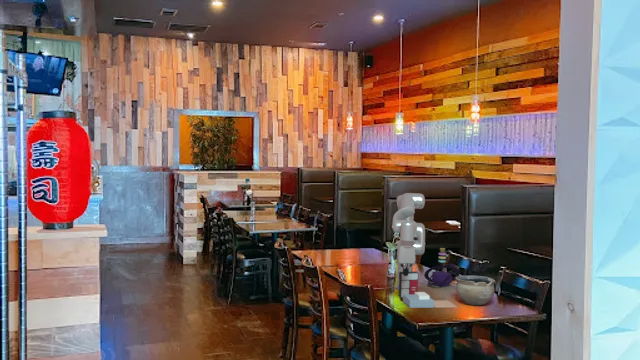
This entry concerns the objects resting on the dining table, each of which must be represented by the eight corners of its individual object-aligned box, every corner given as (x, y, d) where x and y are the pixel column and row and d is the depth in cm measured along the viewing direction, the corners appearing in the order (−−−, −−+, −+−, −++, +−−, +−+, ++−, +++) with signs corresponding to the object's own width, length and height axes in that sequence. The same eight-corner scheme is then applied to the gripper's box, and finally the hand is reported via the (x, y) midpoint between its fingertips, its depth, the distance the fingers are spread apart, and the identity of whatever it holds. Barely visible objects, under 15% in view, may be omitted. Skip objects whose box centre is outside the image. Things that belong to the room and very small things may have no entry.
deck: (402, 301, 327) (403, 294, 326) (426, 301, 328) (426, 294, 328) (409, 307, 313) (410, 300, 313) (434, 307, 315) (434, 300, 314)
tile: (414, 295, 325) (414, 292, 325) (424, 295, 326) (424, 292, 325) (419, 299, 316) (419, 295, 316) (429, 299, 317) (429, 295, 317)
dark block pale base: (400, 298, 334) (401, 273, 334) (398, 296, 338) (399, 271, 338) (418, 297, 336) (418, 272, 336) (415, 295, 340) (416, 271, 340)
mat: (427, 301, 328) (427, 300, 328) (448, 301, 330) (448, 300, 330) (434, 307, 315) (434, 306, 315) (457, 307, 316) (457, 306, 316)
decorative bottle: (456, 283, 379) (457, 246, 378) (460, 290, 358) (462, 251, 357) (422, 281, 382) (424, 245, 381) (425, 288, 361) (426, 250, 360)
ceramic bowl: (466, 309, 312) (467, 282, 312) (448, 299, 333) (448, 274, 333) (501, 307, 318) (502, 281, 318) (481, 298, 339) (481, 273, 339)
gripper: (417, 242, 323) (416, 274, 323) (392, 242, 321) (391, 274, 321) (421, 244, 315) (420, 277, 316) (395, 244, 313) (394, 276, 314)
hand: (405, 275), depth 318 cm, fingers closed
